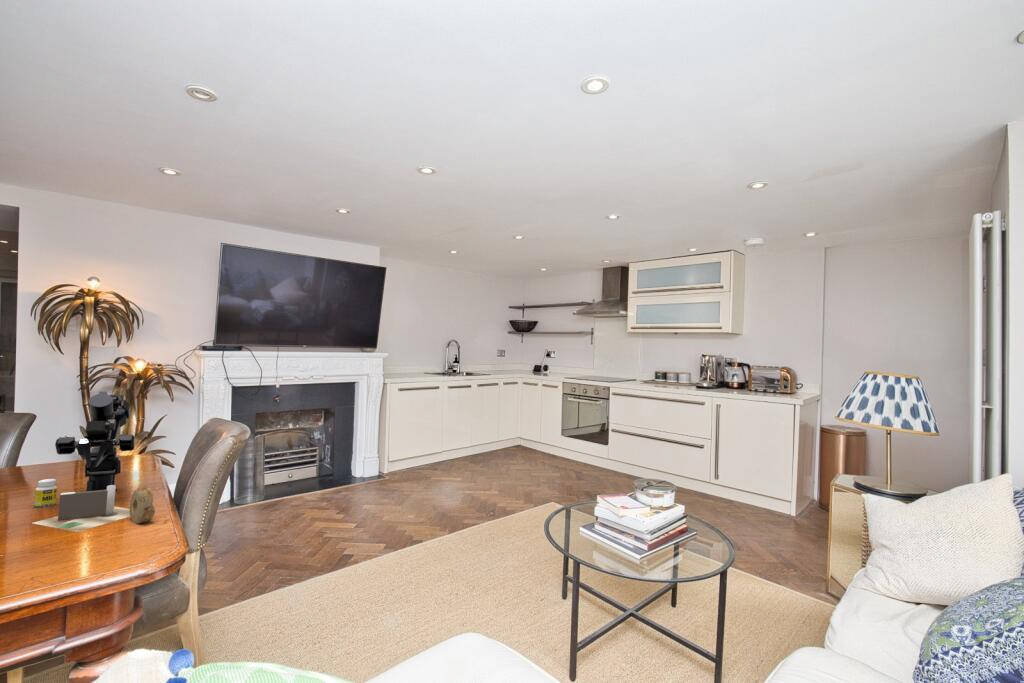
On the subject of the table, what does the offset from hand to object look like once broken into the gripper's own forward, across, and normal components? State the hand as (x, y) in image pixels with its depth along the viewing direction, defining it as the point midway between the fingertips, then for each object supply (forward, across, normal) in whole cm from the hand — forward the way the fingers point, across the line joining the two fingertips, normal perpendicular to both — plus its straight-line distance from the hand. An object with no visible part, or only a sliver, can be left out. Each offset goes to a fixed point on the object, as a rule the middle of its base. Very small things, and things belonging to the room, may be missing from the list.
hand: (91, 466), depth 142 cm
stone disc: (+23, +14, -4) cm, 27 cm away
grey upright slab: (+15, +1, +3) cm, 16 cm away
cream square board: (+16, +2, +3) cm, 17 cm away
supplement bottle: (+3, -12, +16) cm, 20 cm away
